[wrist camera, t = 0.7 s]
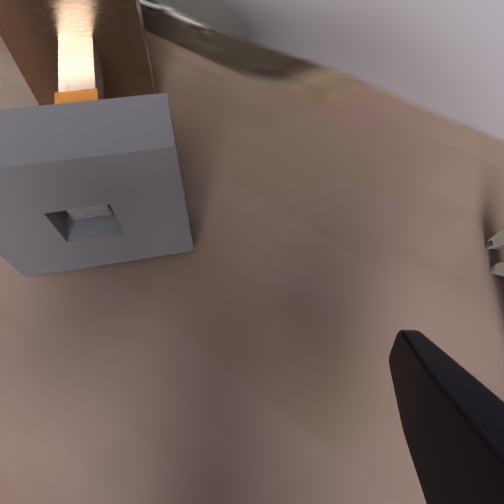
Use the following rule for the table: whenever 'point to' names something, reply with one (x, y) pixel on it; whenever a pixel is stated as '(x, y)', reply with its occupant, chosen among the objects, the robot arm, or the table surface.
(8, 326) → the table surface
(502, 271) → the caliper
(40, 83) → the tan rectangular block
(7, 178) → the gray concrete brick
